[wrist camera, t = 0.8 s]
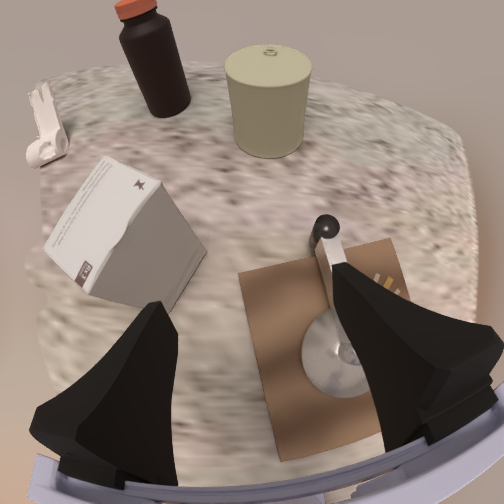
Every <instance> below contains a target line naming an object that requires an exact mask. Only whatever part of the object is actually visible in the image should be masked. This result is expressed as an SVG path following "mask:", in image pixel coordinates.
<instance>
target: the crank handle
mask: <svg viewBox="0 0 504 504" xmlns="http://www.w3.org/2000/svg"><path fill="white" fill-rule="evenodd" d="M339 230H340V225H339V222H338V220H337V219H336V218H335V217H333V216H331V215H328V214H325V215H321V216H319V217H318V218H317V220H316V222H315V224H314V227H313V230H312V232H311V235H310V238H309V244H310V246H311V248H312V249H313V250H315V253H316V257H317V260H318V264H319V267H320V271H321V274H322V278H323V281H324V285H325V289H326V292H327V296H328V300H329V304H330V309H328V310H326V311H325V312H323V313H322V314H320V315H319V316H318V317H317V318H316V319H315V320H314V321H313V322H312V323H311V324H310V326H309V327H308V329H307V331H306V333H305V335H304V338H303V341H302V345H301V362H302V366H303V370H304V372H305V374H306V376H307V377H308V379H309V380H310V381H311V383H312V384H313V385H314V386H316V387H317V388H318V389H319V390H320V391H322V392H324V393H325V394H328V395H330V396H333V397H338V398H350V397H355V396H359V395H361V394H364V393H366V392H368V391H369V390H370V388H369V385H368V382H367V379H366V376H365V373H364V370H363V368H362V366H361V363H360V361H359V359H358V357H357V355H356V353H355V351H354V349H353V347H352V345H351V343H350V341H349V339H348V337H347V335H346V333H345V331H344V329H343V327H342V325H341V323H340V321H339V318H338V315H337V313H336V310H335V307H334V304H333V285H332V265H333V264H337V263H341V262H347V260H346V257H345V254H344V250H343V247H342V244H341V241H340V238H339V235H338V232H339Z"/></svg>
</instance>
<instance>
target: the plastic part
mask: <svg viewBox="0 0 504 504" xmlns="http://www.w3.org/2000/svg"><path fill="white" fill-rule="evenodd" d="M42 92H43V99H44V102H42V100H41V97H40V95H39V92H38V90H37V89H36V90H34V91H33V92H30V93H29V94H28V96H29V99H30V103H31V106H33V108H34V111H35V113H33V114H34V117H35V121H36V124H37V127H38V130H39V133H40V135H38V136H39V140H37V141H35V142H33V143H32V144H31V145H29V146H28V148H27V152H26V159H27V162H28V164H29V165H30V166H31V167H32V168H38V167H40V166H42V165H44V164H46V163H48V162H50V161H52V160H54V159H56V158H58V157H61V156H63V155H65V154H67V151H68V147H69V142H68V139H67V136H66V133H65V130H64V127H63V124H62V121H61V118H60V115H59V112H58V109H57V105H56V102H55V99H54V95H53V92H52V88H51V84H50V81H49V82H46V83H45V84H44V85H43V86H42ZM38 136H37V138H38Z"/></svg>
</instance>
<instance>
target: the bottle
mask: <svg viewBox="0 0 504 504" xmlns="http://www.w3.org/2000/svg"><path fill="white" fill-rule="evenodd" d="M156 5H157V2H156V0H122V1H120V2H118V3H117V4H116V5H115V10H116V12H117V15H118V17H119V19H120V21H121V22H123V23H124V28H123V30H122V32H121V34H120V36H119V40H120V43H121V45H122V48H123V50H124V53H125V55H126V57H127V59H128V62H129V64H130V67H131V69H132V71H133V74H134V76H135V78H136V80H137V83H138V85H139V87H140V90H141V92H142V94H143V96H144V99H145V101H146V103H147V105H148V108H149V110H150V112H151V113H152V114H153V115H154V116H157V117H168V116H173V115H175V114H177V113H179V112H181V111H182V110H184V109H185V108H186V107H187V106H188V104H189V102H190V97H191V95H190V92H189V88H188V85H187V81H186V78H185V74H184V71H183V67H182V64H181V60H180V57H179V53H178V50H177V46H176V42H175V39H174V35H173V31H172V27H171V24H170V21H169V19H168V18H167V17H165V16H163V15H160V14H158V13H157V12H156V9H157V6H156Z"/></svg>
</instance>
